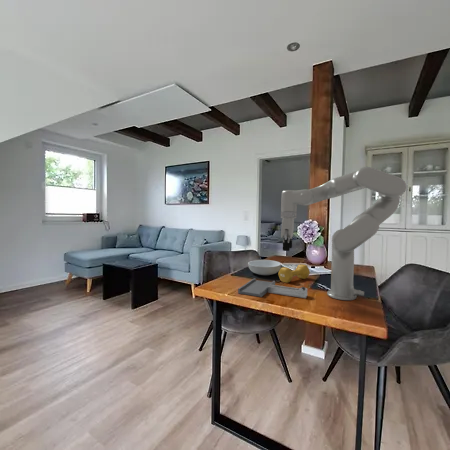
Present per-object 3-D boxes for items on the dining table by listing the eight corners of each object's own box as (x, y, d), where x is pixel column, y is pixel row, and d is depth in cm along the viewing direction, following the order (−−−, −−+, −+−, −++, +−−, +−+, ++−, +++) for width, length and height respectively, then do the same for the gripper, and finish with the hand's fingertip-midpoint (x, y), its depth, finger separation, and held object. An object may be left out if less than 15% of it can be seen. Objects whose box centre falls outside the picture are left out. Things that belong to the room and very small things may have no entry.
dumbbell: (299, 276, 157) (299, 263, 157) (311, 279, 150) (311, 265, 149) (276, 280, 147) (276, 266, 147) (288, 284, 140) (288, 269, 139)
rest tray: (274, 284, 138) (275, 280, 138) (261, 297, 119) (261, 292, 119) (254, 281, 144) (254, 278, 144) (238, 293, 124) (238, 288, 124)
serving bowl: (241, 271, 167) (241, 261, 167) (267, 268, 177) (267, 258, 177) (260, 279, 149) (260, 268, 149) (288, 275, 159) (288, 264, 158)
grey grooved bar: (307, 295, 121) (307, 286, 121) (305, 298, 118) (305, 288, 117) (270, 290, 129) (270, 281, 129) (267, 292, 126) (268, 283, 125)
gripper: (283, 214, 137) (282, 246, 138) (278, 215, 120) (276, 251, 122) (298, 215, 134) (296, 247, 135) (294, 215, 118) (293, 252, 119)
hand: (287, 249), depth 128 cm, fingers open, 9 cm apart
